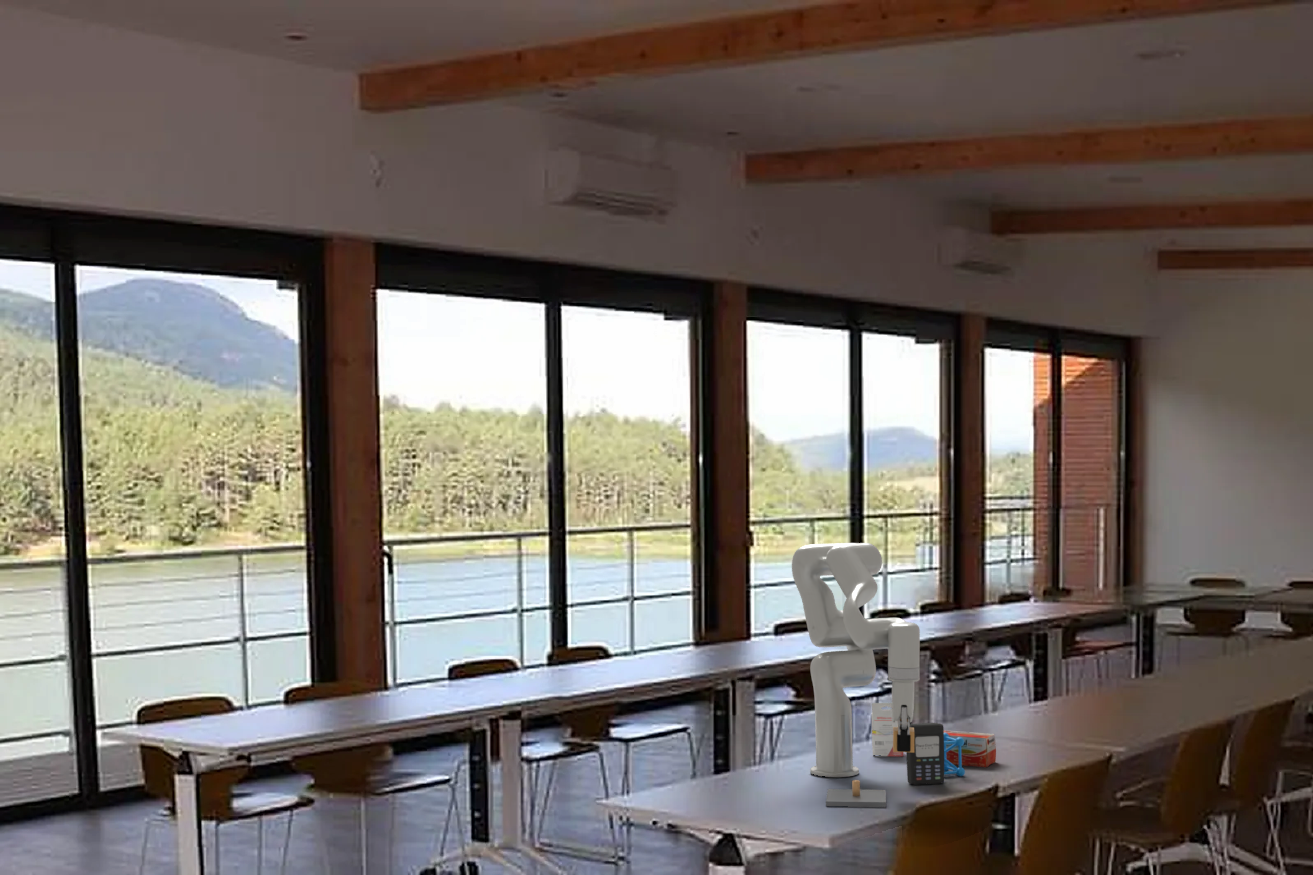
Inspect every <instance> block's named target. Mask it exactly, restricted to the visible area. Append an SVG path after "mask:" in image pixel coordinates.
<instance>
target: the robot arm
mask: <svg viewBox="0 0 1313 875" xmlns="http://www.w3.org/2000/svg"><path fill="white" fill-rule="evenodd" d="M882 564H883V557H882V555H881V552H880V550H879V549H878V547H877V546H875V545H874V544H872V543H870V542H860V543H859V542H836V543H834V542H833V543H832V542H831V543H813V544H806V545H803V546H801V547H798V548H797V549H796V550H795V551H794V553H793V556H792V558H791V572H792V578H793V581H794V584H795V585H796V588H797V591H798V594H799V595H800V598H801V601H802V606H803V611H804V617H805V622H806V626H807V631H808V635H809V638H810V641H811V643H812V645H813V646H815V647H817V648H825V649H826V648H839V647H846V649H847V650H834V651H823V652H821V653H819V654H817V655H816V656H814V657H813V658H812V660H811V662H810V666H809V667H810V669H809V670H810V676H811V682H812V686H813V695H814V714H815V715H814V719H815V721H814V722H815V723H814V724H815V726H814V730H815V764H816V765H814V766H811V768H810V769H809V770H810V771H809V772H810V774H811V775H813V774H814V775H813V776H816V775H818V776H817V777H822V776H825V777H824V778H846V777H847V778H848V777H852V776H853V777H854V776H857V775H858V774H860V768H858V766H855V765H854V762H853V761H854V759H853V758H854V756H853V755H854V754H853V753H854V752H853V721H852V720H853V715H852V714H853V712H852V711H853V710H852V709H853V707H852V703H851V700H850V699H849V697H848V695H847V694H846V692H845V691H844V689H846V688H854V687H863V686H868V685H870V684H871V683H873V682H874V680H875V678H876V674H877V667H876V666H877V665H876V659H875V654H874V651H875V650H884V649H885V650H886V649H887V654H888V655H887V678H888V679H887V680H888V681H892V684H891V703H892V708H891V709H892V721H893V722H895V721H898V734H897V751H901V752H903V753H906V752H910V750H911V735H910V724H912V722H913V719H914V710H915V709H914V708H915V682H918V681H920V679H921V678H920V670H921V669H920V659H921V658H920V653H921V652H920V649H921V648H920V647H921V646H920V645H921V644H920V643H921V642H920V640H921V636H920V635H921V634H920V633H921V630H920V626H919V625H918V624H917V623H915V622H911V621H910V622H909V621H906V620H904V619H902V618H900V617H877V618H865V617H864V616H863V614H862V612H861V611H860V608H861V607H862V606H864V605H867V603H869V602H870V601H871V600H873V598H874V597H875V596H876V595H877V592H878V583H877V582H876V580H875V578H874V577H873V576H874V575H876V574H878V573H879V571H880V570H881V568H882V566H883V565H882ZM822 576H833V578H834V579H835V582H836V583H837V584H838V586H839V588H840V589H841V591H842V593H843V595H844V597H845V601H844V604H843V607H842V609H843V610H841V609H840V610H839V609H838V608H837V603H836V600H835V594H834V593H833V591H832V590H831V588H830V586H829V585H828V584H827V583H826V582H825V581H824V580H823V579H822V578H821V577H822ZM873 650H874V651H873Z"/></svg>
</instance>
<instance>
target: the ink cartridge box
mask: <svg viewBox="0 0 1313 875" xmlns="http://www.w3.org/2000/svg"><path fill="white" fill-rule="evenodd" d="M886 707H888V708H891V709H882V708H886ZM870 716H871V741H872V743H871V744H872V748H871V750H872V756H873V755H881V756H880V757H899V758H900V757H901V758H902V757H904V752H893V727H898V721H895V722H893V721H892V702H873V703H871V715H870Z"/></svg>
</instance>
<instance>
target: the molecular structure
mask: <svg viewBox="0 0 1313 875" xmlns="http://www.w3.org/2000/svg"><path fill="white" fill-rule="evenodd" d="M948 740H951V741H948ZM946 744H953V745H952V746H950V747H949V748H947V749H946ZM963 745H964V739H963V738H961V737H958V738H956V739H954V738H950V737H949V735H948V734H947V733H944V776H945V775H956V776H958V777H963V776H965V774H966V770H965V769H964V768H963V767H962V759H961V746H963ZM955 746H958V753H959V765H958V767H957V765H953V764H952V763H951V762H949V761H948V760H947V759H946V752H948V751H949V750H951V749H952V748H954V747H955ZM949 770H950V771H949Z"/></svg>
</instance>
